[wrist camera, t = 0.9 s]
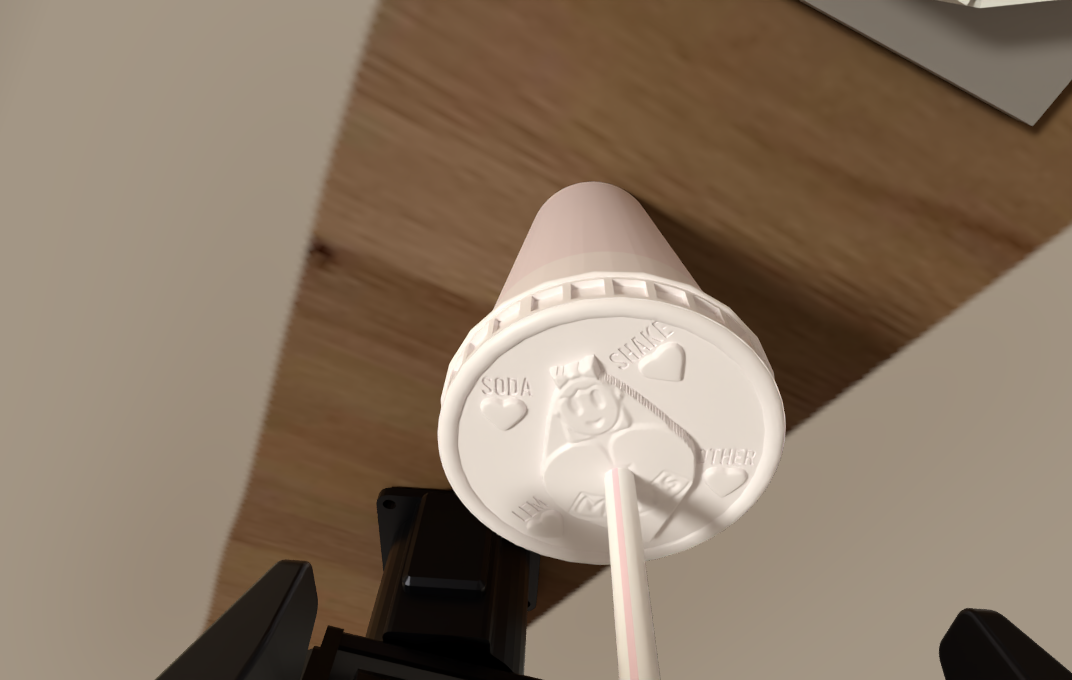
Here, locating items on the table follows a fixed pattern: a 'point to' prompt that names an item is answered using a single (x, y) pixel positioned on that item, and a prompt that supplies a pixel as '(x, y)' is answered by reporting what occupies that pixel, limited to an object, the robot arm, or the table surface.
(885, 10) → the socket board
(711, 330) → the smoothie
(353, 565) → the table surface
